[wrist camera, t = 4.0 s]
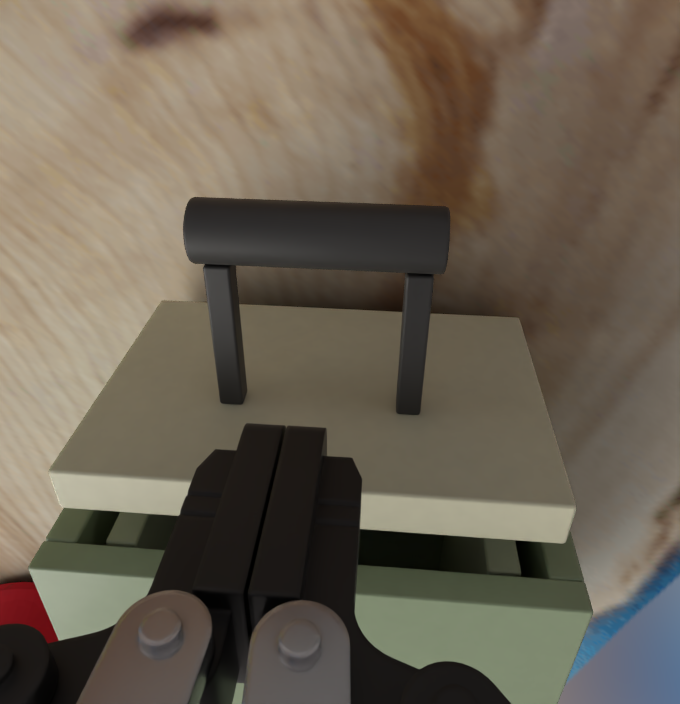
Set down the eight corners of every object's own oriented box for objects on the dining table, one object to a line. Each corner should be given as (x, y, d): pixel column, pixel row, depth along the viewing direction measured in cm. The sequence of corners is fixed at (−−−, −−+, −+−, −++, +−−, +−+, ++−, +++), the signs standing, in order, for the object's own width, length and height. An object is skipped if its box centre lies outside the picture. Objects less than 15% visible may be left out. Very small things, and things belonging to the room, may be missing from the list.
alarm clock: (199, 734, 30) (-35, 850, 33) (209, 626, 36) (9, 731, 38) (47, 618, 26) (-213, 761, 28) (85, 514, 31) (-134, 641, 34)
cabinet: (162, 340, 22) (26, 567, 14) (522, 359, 21) (594, 612, 13) (208, 593, 30) (138, 828, 22) (469, 614, 29) (494, 866, 21)
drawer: (132, 133, 17) (-32, 251, 11) (553, 146, 16) (651, 282, 10) (207, 566, 28) (147, 759, 21) (467, 586, 27) (487, 792, 20)
